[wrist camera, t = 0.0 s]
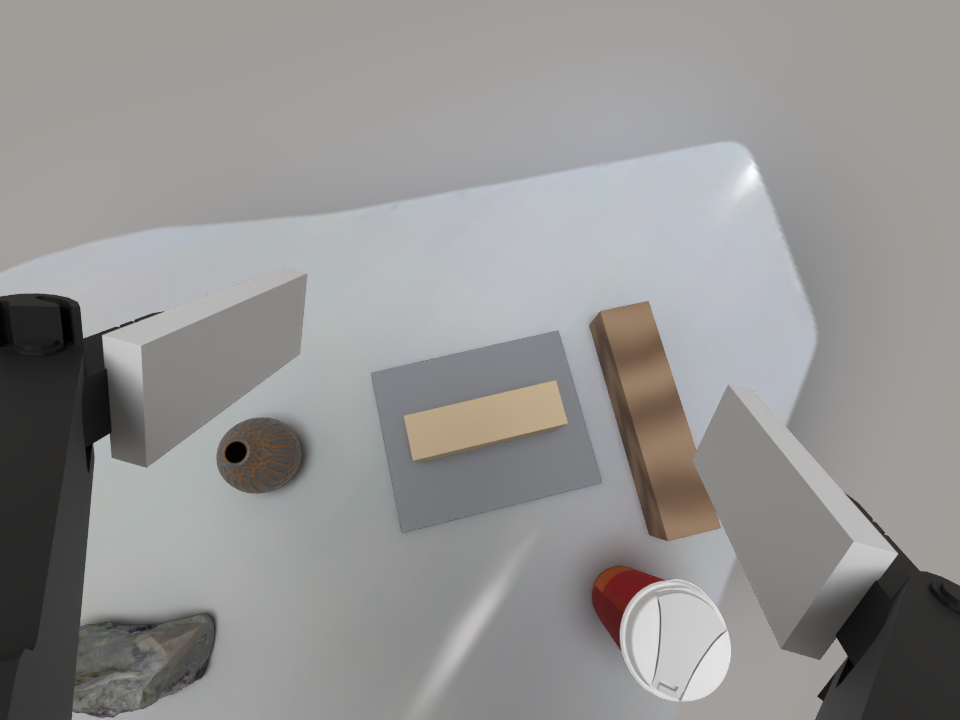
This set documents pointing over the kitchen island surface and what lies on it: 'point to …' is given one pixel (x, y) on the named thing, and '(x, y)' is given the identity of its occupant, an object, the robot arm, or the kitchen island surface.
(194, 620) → the mineral rock
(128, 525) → the kitchen island surface
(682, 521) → the walnut bar
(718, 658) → the paper cup
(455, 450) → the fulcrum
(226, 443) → the vase
